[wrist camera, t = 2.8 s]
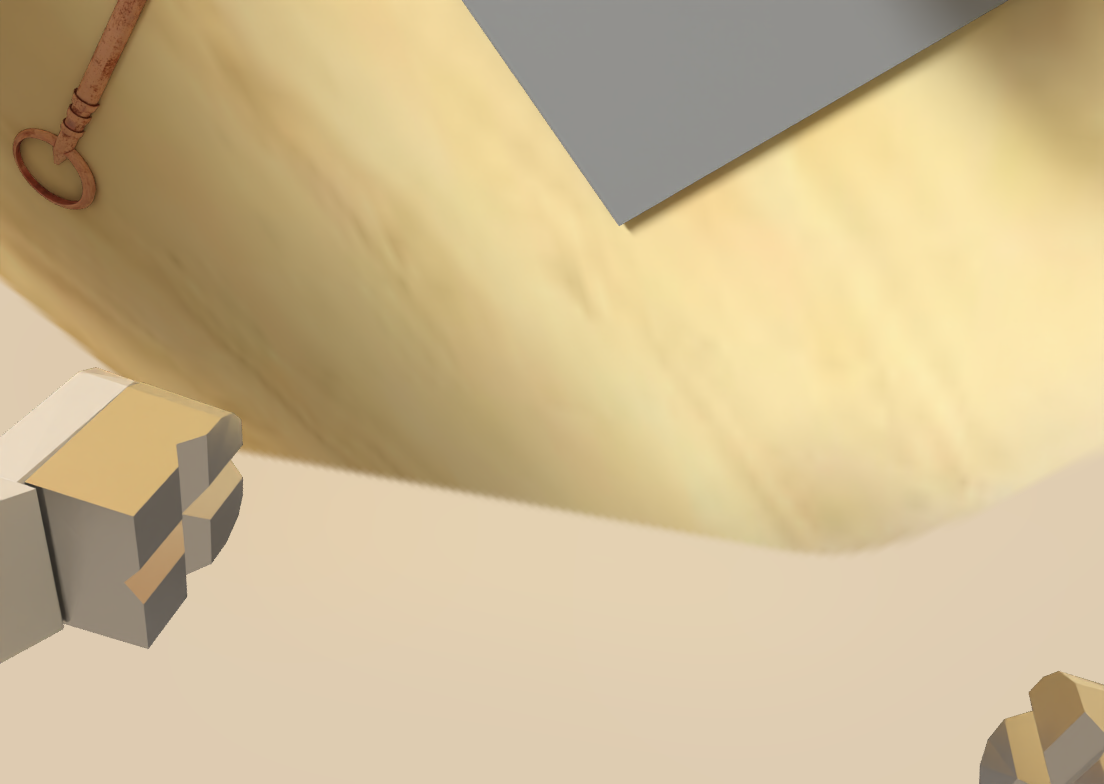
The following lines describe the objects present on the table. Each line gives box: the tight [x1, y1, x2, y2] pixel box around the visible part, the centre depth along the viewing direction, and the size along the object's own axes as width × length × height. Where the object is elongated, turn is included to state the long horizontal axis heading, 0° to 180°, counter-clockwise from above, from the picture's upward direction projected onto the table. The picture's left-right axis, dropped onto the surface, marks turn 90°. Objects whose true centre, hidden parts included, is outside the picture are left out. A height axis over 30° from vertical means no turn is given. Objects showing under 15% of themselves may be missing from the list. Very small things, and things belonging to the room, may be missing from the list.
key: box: [13, 0, 147, 209], centre depth 35 cm, size 6×1×15 cm
